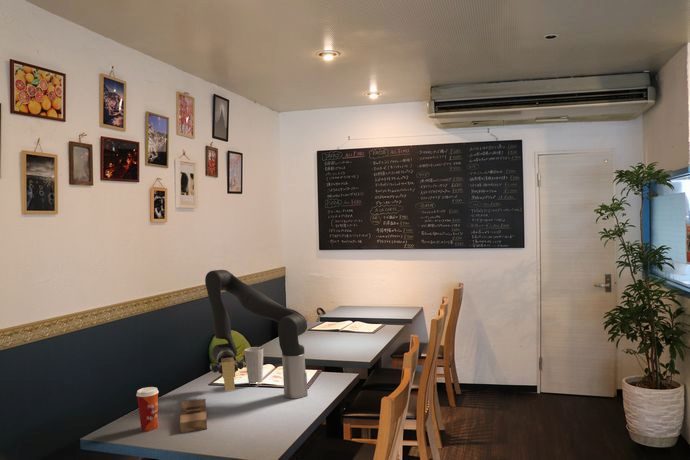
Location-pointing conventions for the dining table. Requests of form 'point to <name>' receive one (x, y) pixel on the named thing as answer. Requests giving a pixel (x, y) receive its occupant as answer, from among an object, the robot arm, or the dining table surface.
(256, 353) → the cup
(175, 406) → the dining table surface
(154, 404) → the paper cup
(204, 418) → the brown flat wooden block
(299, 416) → the dining table surface
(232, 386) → the tan boxy piece
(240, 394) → the dining table surface
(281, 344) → the robot arm
